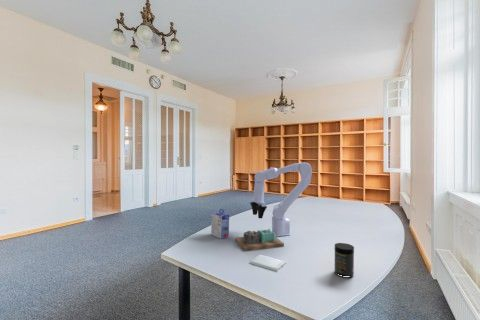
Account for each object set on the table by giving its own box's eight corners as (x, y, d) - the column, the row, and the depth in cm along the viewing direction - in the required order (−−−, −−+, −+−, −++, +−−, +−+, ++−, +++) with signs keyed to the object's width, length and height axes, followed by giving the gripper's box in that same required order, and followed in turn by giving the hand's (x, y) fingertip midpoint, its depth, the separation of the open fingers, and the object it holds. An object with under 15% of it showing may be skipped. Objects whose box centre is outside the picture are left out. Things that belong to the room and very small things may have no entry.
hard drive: (249, 260, 99) (277, 268, 92) (260, 254, 106) (286, 261, 99) (249, 264, 99) (277, 273, 92) (260, 257, 106) (286, 265, 99)
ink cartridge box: (229, 237, 131) (229, 210, 131) (221, 239, 128) (221, 212, 127) (218, 232, 139) (218, 207, 139) (210, 234, 135) (210, 208, 135)
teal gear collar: (269, 236, 128) (269, 229, 128) (275, 241, 121) (275, 233, 121) (256, 237, 126) (256, 230, 126) (262, 242, 119) (262, 234, 119)
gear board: (270, 236, 132) (270, 225, 132) (284, 246, 118) (284, 234, 118) (235, 240, 126) (235, 229, 126) (245, 251, 112) (245, 238, 112)
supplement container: (354, 279, 86) (354, 250, 86) (333, 276, 89) (334, 247, 89) (353, 271, 92) (353, 244, 92) (334, 268, 95) (334, 241, 95)
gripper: (247, 190, 144) (246, 213, 144) (257, 195, 130) (256, 220, 130) (258, 190, 146) (257, 213, 146) (269, 194, 132) (268, 219, 133)
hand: (257, 216), depth 139 cm, fingers open, 7 cm apart
